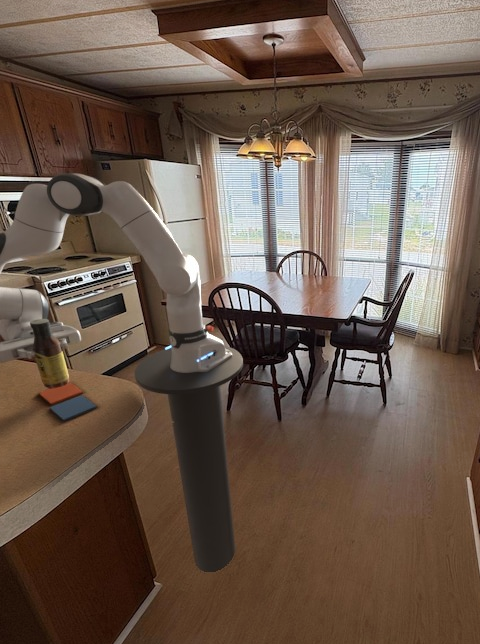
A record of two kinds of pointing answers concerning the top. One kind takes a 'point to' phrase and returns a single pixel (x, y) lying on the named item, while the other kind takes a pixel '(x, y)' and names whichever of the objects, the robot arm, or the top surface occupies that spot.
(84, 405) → the blue pad
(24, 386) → the top surface
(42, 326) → the sauce bottle
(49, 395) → the terracotta pad
